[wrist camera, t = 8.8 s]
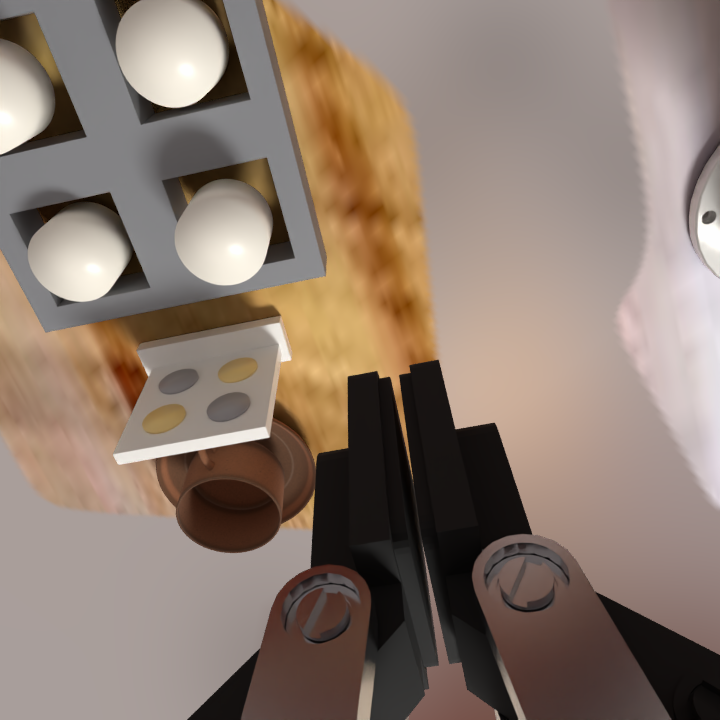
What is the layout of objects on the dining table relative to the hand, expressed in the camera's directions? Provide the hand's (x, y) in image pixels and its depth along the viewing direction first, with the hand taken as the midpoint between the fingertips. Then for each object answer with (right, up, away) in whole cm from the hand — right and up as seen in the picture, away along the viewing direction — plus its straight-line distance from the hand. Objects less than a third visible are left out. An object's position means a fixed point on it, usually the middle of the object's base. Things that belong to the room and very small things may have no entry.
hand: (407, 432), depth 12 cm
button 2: (-8, +9, +25) cm, 28 cm away
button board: (-14, +14, +25) cm, 32 cm away
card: (-11, +2, +33) cm, 34 cm away
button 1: (-10, +18, +22) cm, 30 cm away
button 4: (-17, +9, +27) cm, 33 cm away
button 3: (-19, +15, +21) cm, 32 cm away
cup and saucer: (-10, -6, +38) cm, 40 cm away
